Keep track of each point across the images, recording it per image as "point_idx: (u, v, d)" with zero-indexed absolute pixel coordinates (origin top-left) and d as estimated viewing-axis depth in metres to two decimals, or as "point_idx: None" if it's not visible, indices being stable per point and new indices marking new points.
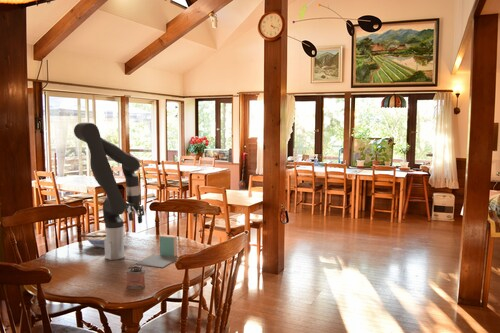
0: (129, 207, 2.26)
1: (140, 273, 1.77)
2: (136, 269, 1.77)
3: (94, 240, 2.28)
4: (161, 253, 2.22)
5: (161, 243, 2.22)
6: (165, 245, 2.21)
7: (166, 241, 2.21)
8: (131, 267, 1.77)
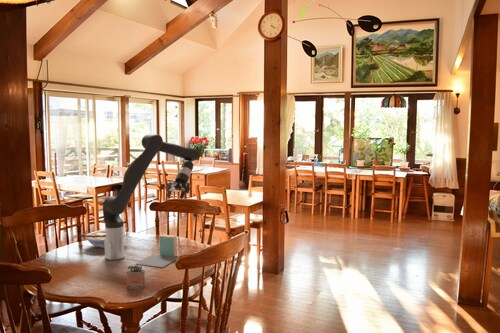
0: (175, 184, 2.42)
1: (140, 273, 1.77)
2: (136, 269, 1.77)
3: (94, 240, 2.28)
4: (161, 253, 2.22)
5: (161, 243, 2.22)
6: (165, 245, 2.21)
7: (166, 241, 2.21)
8: (131, 267, 1.77)
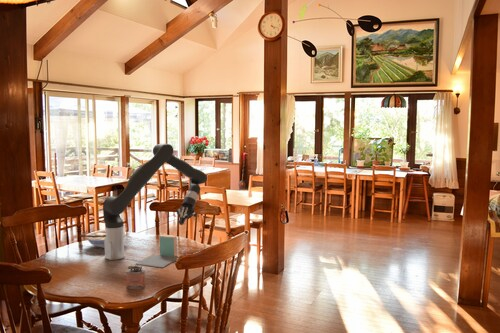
0: (182, 208, 2.40)
1: (140, 273, 1.77)
2: (136, 269, 1.77)
3: (94, 240, 2.28)
4: (161, 253, 2.22)
5: (161, 243, 2.22)
6: (165, 245, 2.21)
7: (166, 241, 2.21)
8: (131, 267, 1.77)
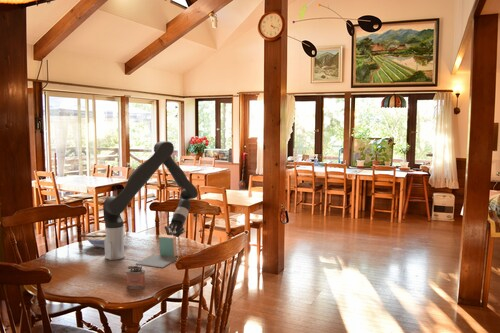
0: (171, 226, 2.28)
1: (140, 273, 1.77)
2: (136, 269, 1.77)
3: (94, 240, 2.28)
4: (161, 253, 2.22)
5: (160, 243, 2.21)
6: (164, 245, 2.20)
7: (165, 242, 2.20)
8: (131, 267, 1.77)
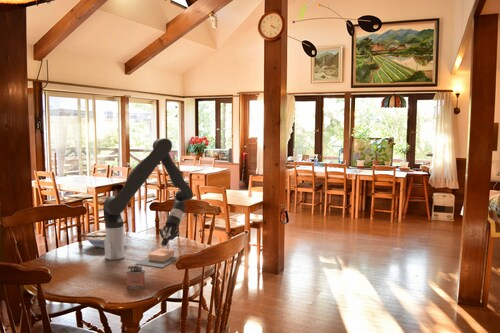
0: (166, 228, 2.22)
1: (140, 273, 1.77)
2: (136, 269, 1.77)
3: (94, 240, 2.28)
4: None
5: None
6: None
7: None
8: (131, 267, 1.77)
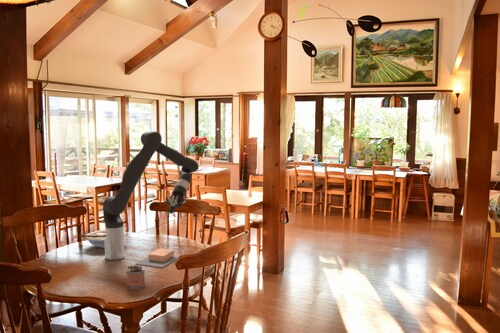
0: (172, 197, 2.33)
1: (140, 273, 1.77)
2: (136, 269, 1.77)
3: (94, 240, 2.28)
4: None
5: None
6: None
7: None
8: (131, 267, 1.77)
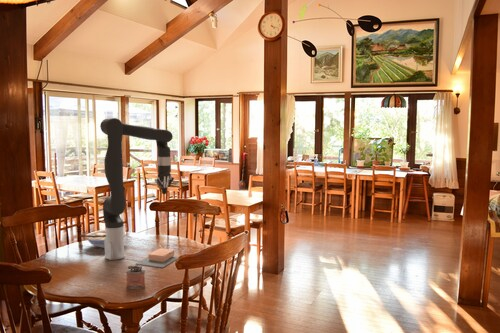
0: (164, 178, 2.33)
1: (140, 273, 1.77)
2: (136, 269, 1.77)
3: (94, 240, 2.28)
4: None
5: None
6: None
7: None
8: (131, 267, 1.77)
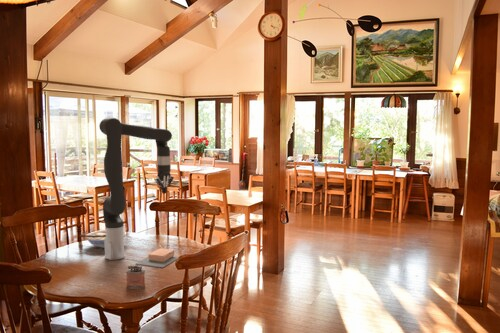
0: (164, 178, 2.32)
1: (140, 273, 1.77)
2: (136, 269, 1.77)
3: (94, 240, 2.28)
4: None
5: None
6: None
7: None
8: (131, 267, 1.77)
